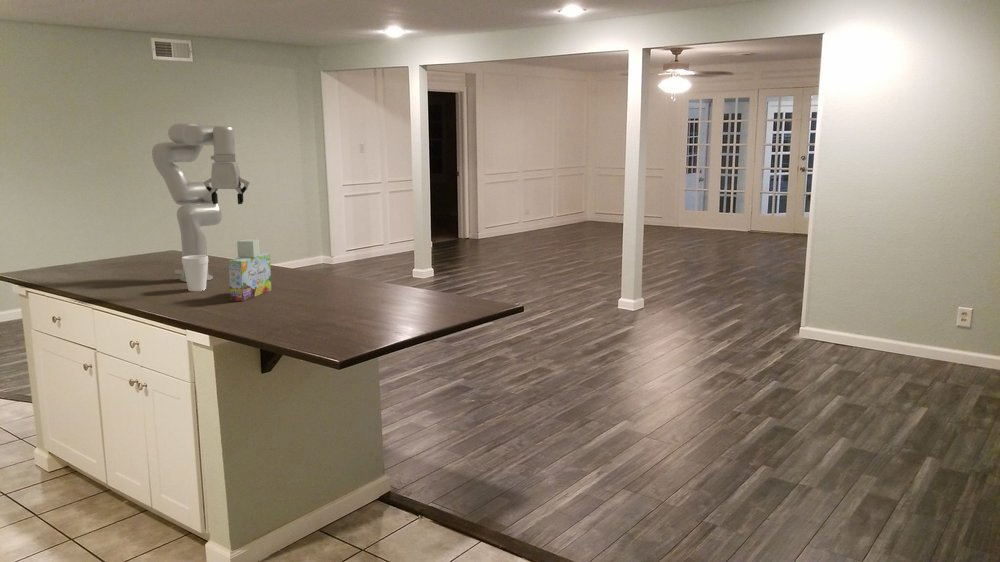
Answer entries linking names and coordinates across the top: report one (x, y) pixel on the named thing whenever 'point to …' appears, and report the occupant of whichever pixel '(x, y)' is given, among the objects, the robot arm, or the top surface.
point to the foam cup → (195, 271)
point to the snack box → (249, 277)
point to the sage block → (248, 248)
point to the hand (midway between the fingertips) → (227, 203)
